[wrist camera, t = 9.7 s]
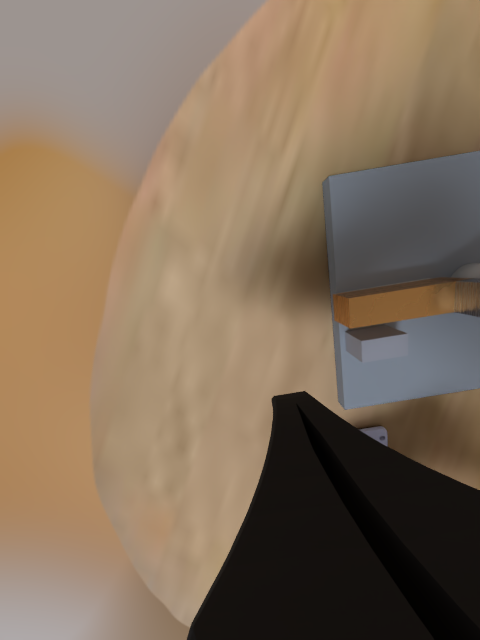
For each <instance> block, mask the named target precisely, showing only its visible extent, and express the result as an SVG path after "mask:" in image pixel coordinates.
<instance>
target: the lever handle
mask: <svg viewBox="0 0 480 640" xmlns="http://www.w3.org/2000/svg"><path fill="white" fill-rule="evenodd" d="M333 307H334V321H336V322H338V323H340V324H342V325H344V326H346V327H348V328H350V329H351V328H357V327H364V326H370V325H376V324H383V323H389V322H395V321H402V320H408V319H414V318H421V317H427V316H433V315H440V314H446V313H452V312H456V313H461V314H466V315H471V316H476V317H480V279H478V278H453V277H438V278H432V279H425V280H419V281H413V282H407V283H400V284H394V285H388V286H381V287H375V288H369V289H363V290H356V291H350V292H344V293H337V294H333Z"/></svg>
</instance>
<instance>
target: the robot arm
mask: <svg viewBox="0 0 480 640" xmlns="http://www.w3.org/2000/svg"><path fill="white" fill-rule="evenodd" d="M272 406H273V422H272V431H271V437H270V442H269V446H268V451H267V455H266V459H265V463H264V466H263V470H262V473H261V476H260V479H259V482H258V485H257V488H256V491H255V494H254V496H253V499H252V502H251V504H250V507H249V509H248V512H247V514H246V517H245V519H244V521H243V523H242V525H241V528H240V530H239V532H238V534H237V536H236V539H235V541H234V543H233V545H232V547H231V550H230V552H229V554H228V556H227V558H226V560H225V562H224V564H223V566H222V568H221V570H220V572H219V573H218V575H217V577H216V579H215V581H214V583H213V585H212V586H211V588H210V590H209V592H208V594H207V596H206V598H205V600H204V601H203V603H202V605H201V607H200V609H199V611H198V613H197V614H196V616H195V618H194V620H193V622H192V624H191V627H190V630H189V634H188V637H187V640H480V490H477V489H475V488H473V487H470V486H468V485H466V484H463V483H461V482H459V481H456V480H454V479H452V478H450V477H448V476H446V475H443V474H441V473H439V472H437V471H435V470H432V469H430V468H428V467H426V466H424V465H422V464H420V463H418V462H416V461H414V460H412V459H410V458H408V457H406V456H404V455H402V454H400V453H398V452H397V451H395V450H393V449H391V448H389V447H388V440H387V430H386V429H385V428H384V427H382V426H378V427H372V428H365V429H357V428H355V427H354V426H352V425H351V424H349V423H348V422H346V421H345V420H343V419H342V418H340V417H339V416H338V415H336V414H335V413H333V412H332V411H331V410H329V409H328V408H327V407H325V406H324V405H323V404H321V403H320V402H319V401H317V400H316V399H315V398H313V397H312V396H311V395H309V394H308V393H307V392H305V391H303V392H296V393H290V394H284V395H278V396H274V397H273V398H272ZM381 436H382V437H381Z"/></svg>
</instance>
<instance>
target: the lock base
mask: <svg viewBox="0 0 480 640" xmlns="http://www.w3.org/2000/svg"><path fill="white" fill-rule="evenodd" d="M322 184H323V198H324V212H325V225H326V239H327V253H328V266H329V280H330V293H331V307H332V321H333V334H334V348H335V361H336V375H337V389H338V402H339V403H340V404H341V406H342V407H343V408H344V409H345V410H347V409H353V408H359V407H366V406H372V405H378V404H384V403H391V402H397V401H403V400H409V399H416V398H422V397H428V396H434V395H441V394H447V393H453V392H460V391H466V390H472V389H478V388H480V317H476V316H471V315H466V314H461V313H456V312H452V313H446V314H440V315H433V316H427V317H421V318H414V319H408V320H402V321H395V322H389V323H383V324H376V325H370V326H364V327H357V328H351V329H350V328H348V327H346V326H344V325H342V324H340V323H338V322H336V321H334V307H333V294H337V293H344V292H350V291H356V290H363V289H369V288H375V287H381V286H388V285H394V284H400V283H407V282H413V281H419V280H425V279H432V278H438V277H453V278H478V279H480V151H475V152H469V153H463V154H457V155H451V156H445V157H440V158H434V159H428V160H422V161H416V162H410V163H404V164H398V165H392V166H386V167H380V168H374V169H368V170H363V171H357V172H351V173H345V174H339V175H333V176H329V177H328V178H327V179H326V180H325V181H324V182H323V183H322Z"/></svg>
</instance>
